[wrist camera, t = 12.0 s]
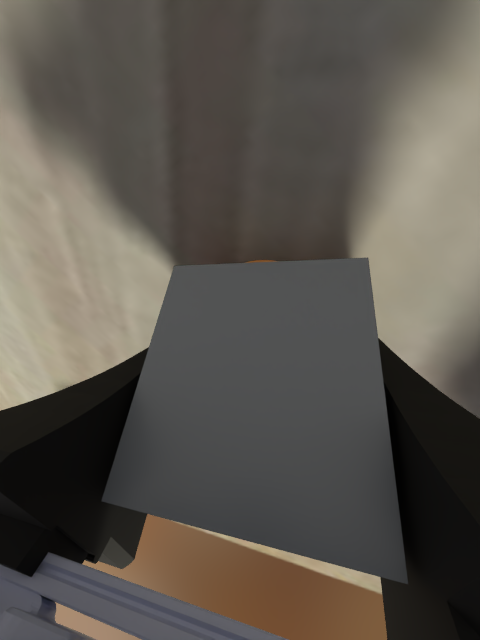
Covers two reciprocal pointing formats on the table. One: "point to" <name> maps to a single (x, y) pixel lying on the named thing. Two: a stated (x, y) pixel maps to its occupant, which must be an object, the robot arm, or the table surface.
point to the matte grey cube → (267, 414)
